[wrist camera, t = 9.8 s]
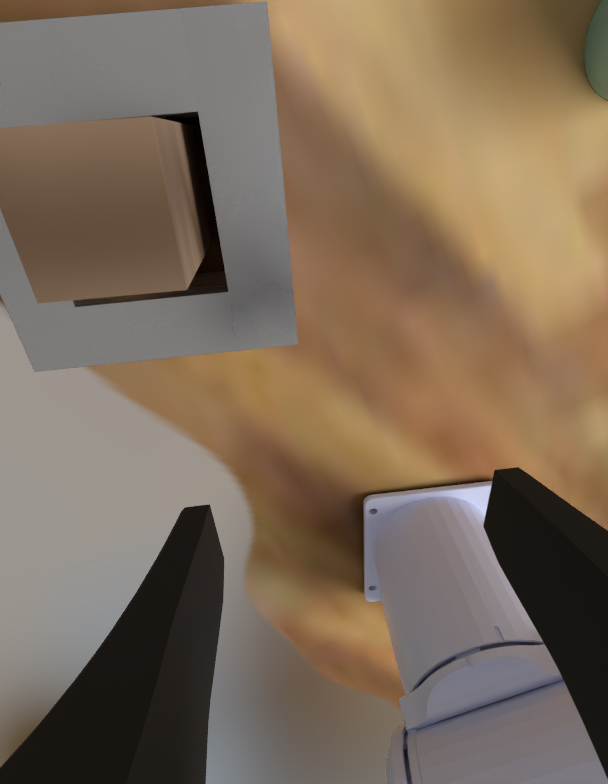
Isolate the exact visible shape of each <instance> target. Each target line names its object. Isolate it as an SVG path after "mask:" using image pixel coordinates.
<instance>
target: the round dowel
mask: <svg viewBox="0 0 608 784" xmlns="http://www.w3.org/2000/svg"><path fill="white" fill-rule="evenodd" d="M584 65H585V71H586V75H587V78H588V81H589V83H590V85H591V87H592V88H593V89H594V91H595V92H596V93H597V94H598V95H599V96H600V97H602V98H604V99H605V100H608V0H601V1H600V3H599V5H598V7H597V9H596V11H595V13H594V15H593V17H592V20H591V23H590V26H589V28H588V32H587V36H586V41H585V48H584Z"/></svg>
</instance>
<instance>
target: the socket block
mask: <svg viewBox="0 0 608 784" xmlns="http://www.w3.org/2000/svg"><path fill="white" fill-rule="evenodd" d="M148 116H151V117H156V118H160V119H165V120H175V119H186V118H198V117H199V121H200V127H201V132H202V138H203V144H204V150H205V156H206V162H207V168H208V174H209V180H210V186H211V191H212V197H213V203H214V209H215V215H216V221H217V227H218V233H219V239H220V245H221V250H222V256H223V262H224V268H225V271H220V272H210V273H200V274H195V275H194V277H193V279H192V281H191V283H190V285H189V287H188V289H187V290H182V291H171V292H160V293H149V294H138V295H126V296H115V297H104V298H93V299H82V300H71V301H60V302H49V303H37V300H36V298H35V295H34V293H33V290H32V288H31V285H30V283H29V280H28V278H27V275H26V273H25V270H24V267H23V265H22V262H21V260H20V257H19V255H18V252H17V250H16V247H15V245H14V242H13V240H12V237H11V235H10V232H9V229H8V227H7V224H6V222H5V219H4V217H3V214H2V212H1V209H0V295H1V297H2V300H3V302H4V304H5V306H6V309H7V311H8V313H9V315H10V318H11V320H12V322H13V324H14V326H15V329H16V331H17V333H18V335H19V338H20V340H21V342H22V344H23V347H24V349H25V351H26V353H27V356H28V358H29V360H30V362H31V364H32V367H33V369H34V371H35V372H37V371H46V370H56V369H66V368H76V367H85V366H95V365H105V364H114V363H124V362H134V361H143V360H153V359H162V358H172V357H182V356H191V355H201V354H211V353H220V352H230V351H240V350H249V349H259V348H268V347H278V346H288V345H297V344H298V336H297V325H296V314H295V303H294V292H293V282H292V271H291V260H290V249H289V238H288V227H287V216H286V205H285V194H284V183H283V172H282V161H281V150H280V139H279V128H278V117H277V106H276V95H275V84H274V74H273V63H272V52H271V41H270V30H269V19H268V8H267V2H254V3H242V4H229V5H217V6H204V7H191V8H179V9H166V10H154V11H141V12H129V13H116V14H104V15H91V16H78V17H66V18H53V19H41V20H28V21H16V22H3V23H0V128H3V127H16V126H30V125H43V124H56V123H69V122H82V121H95V120H109V119H122V118H135V117H148Z"/></svg>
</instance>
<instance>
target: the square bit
mask: <svg viewBox="0 0 608 784" xmlns="http://www.w3.org/2000/svg"><path fill="white" fill-rule="evenodd" d="M0 209H1V212H2V214H3V217H4V219H5V222H6V224H7V227H8V229H9V232H10V235H11V237H12V240H13V242H14V245H15V247H16V250H17V252H18V255H19V257H20V260H21V262H22V265H23V267H24V270H25V273H26V275H27V278H28V280H29V283H30V285H31V288H32V290H33V293H34V295H35V298H36V300H37V303H49V302H60V301H71V300H82V299H93V298H104V297H115V296H126V295H138V294H149V293H160V292H171V291H182V290H187V289H188V287H189V285H190V283H191V281H192V279H193V277H194V275H195V273H196V271H197V270H198V268H199V266H200V264H201V262H202V260H203V258H204V256H205V254H206V252H207V250H208V248H209V246H210V244H211V243H212V240H211V234H210V229H209V223H208V217H207V211H206V205H205V199H204V193H203V187H202V181H201V176H200V170H199V164H198V158H197V152H196V146H195V140H194V134H193V128H192V125H188V124H183V123H179V122H174V121H170V120H165V119H160V118H156V117H151V116H148V117H135V118H122V119H109V120H95V121H82V122H69V123H56V124H43V125H30V126H16V127H3V128H0Z"/></svg>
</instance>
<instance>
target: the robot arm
mask: <svg viewBox="0 0 608 784" xmlns="http://www.w3.org/2000/svg"><path fill="white" fill-rule="evenodd" d="M371 509H374V510H371ZM363 512H364V595H365V599H366V600H367V601H369V602H375V601H381V603H382V607H383V611H384V615H385V618H386V622H387V626H388V630H389V634H390V638H391V642H392V646H393V650H394V654H395V658H396V662H397V666H398V670H399V674H400V678H401V682H402V685H403V688H404V691H405V694H406V695H405V696H403V697H400V699H399V702H400V706H401V710H402V715H403V719H404V723H405V724H403V725H401V726H398V727H397V728H396V729H394V731H393V733H392V736H391V740H390V747H389V750H388V753H387V758H386V781H387V784H608V531H607V530H606V529H604V528H603V527H601V526H600V525H598V524H597V523H596V522H594V521H593V520H591V519H590V518H588V517H587V516H586V515H584V514H583V513H581V512H580V511H579V510H577V509H576V508H574V507H573V506H571V505H570V504H569V503H567V502H566V501H565V500H563V499H562V498H560V497H559V496H558V495H556V494H555V493H553V492H552V491H551V490H549V489H548V488H547V487H545V486H544V485H542V484H541V483H540V482H538V481H537V480H536V479H534V478H533V477H531V476H530V475H529V474H527V473H526V472H524V471H523V470H521V469H520V468H518V467H517V468H509V469H501V470H495V471H494V476H493V481H487V482H479V483H470V484H461V485H452V486H444V487H435V488H426V489H418V490H409V491H400V492H392V493H383V494H374V495H369V496H367V497H366V498H365V499H364V502H363ZM223 587H224V557H223V553H222V550H221V546H220V542H219V538H218V534H217V531H216V527H215V523H214V519H213V516H212V512H211V508H210V505H202V506H194V507H186V508H184V509H183V510H182V511H181V513H180V515H179V517H178V519H177V521H176V523H175V525H174V527H173V529H172V531H171V533H170V535H169V537H168V539H167V541H166V542H165V544H164V546H163V548H162V550H161V551H160V553H159V555H158V557H157V559H156V560H155V562H154V564H153V565H152V567H151V569H150V570H149V572H148V574H147V575H146V577H145V579H144V581H143V582H142V584H141V586H140V587H139V589H138V591H137V592H136V594H135V595H134V597H133V599H132V600H131V602H130V603H129V604H128V606H127V608H126V609H125V611H124V612H123V614H122V615H121V617H120V618H119V620H118V621H117V623H116V624H115V626H114V627H113V629H112V630H111V632H110V633H109V635H108V636H107V637H106V639H105V640H104V642H103V643H102V645H101V646H100V647H99V649H98V650H97V651H96V653H95V654H94V656H93V657H92V658H91V660H90V661H89V662H88V664H87V665H86V666H85V667H84V669H83V670H82V672H81V673H80V674H79V675H78V677H77V678H76V679H75V681H74V682H73V683H72V684H71V686H70V687H69V688H68V689H67V690H66V692H65V693H64V694H63V696H62V697H61V698H60V699H59V701H58V702H57V703H56V704H55V706H54V707H53V708H52V709H51V710H50V712H49V713H48V714H47V715H46V716H45V718H44V719H43V720H42V721H41V722H40V724H39V725H38V726H37V727H36V728H35V729H34V731H33V732H32V733H31V734H30V735H29V736H28V738H27V739H26V740H25V741H24V742H23V743H22V745H20V746H19V748H18V749H17V750H16V751H15V752H14V753H13V755H11V756H10V758H9V759H8V760H7V761H6V762H5V763H4V764H3V765H2V766H1V767H0V784H205V781H206V759H207V758H206V757H207V737H208V736H207V735H208V719H209V709H210V698H211V690H212V683H213V675H214V668H215V660H216V652H217V644H218V637H219V629H220V621H221V613H222V605H223Z"/></svg>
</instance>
